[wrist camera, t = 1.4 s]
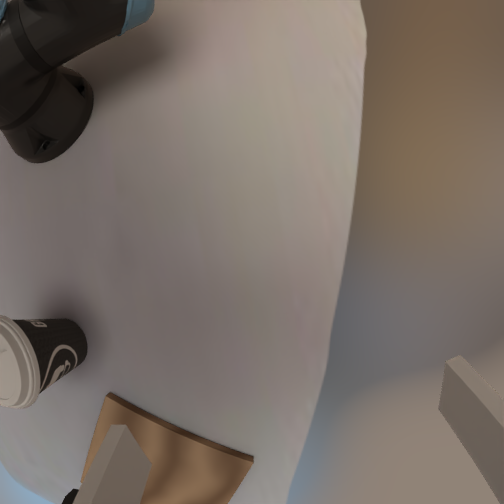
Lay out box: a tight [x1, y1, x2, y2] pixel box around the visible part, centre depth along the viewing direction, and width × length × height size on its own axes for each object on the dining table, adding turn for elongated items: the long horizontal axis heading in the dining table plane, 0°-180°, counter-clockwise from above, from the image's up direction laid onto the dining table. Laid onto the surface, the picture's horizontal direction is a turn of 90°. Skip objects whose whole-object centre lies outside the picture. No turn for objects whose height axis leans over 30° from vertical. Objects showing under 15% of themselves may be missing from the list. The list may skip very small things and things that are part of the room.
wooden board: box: [81, 392, 254, 504], centre depth 32 cm, size 20×18×2 cm
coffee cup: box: [0, 315, 87, 409], centre depth 27 cm, size 10×10×15 cm
